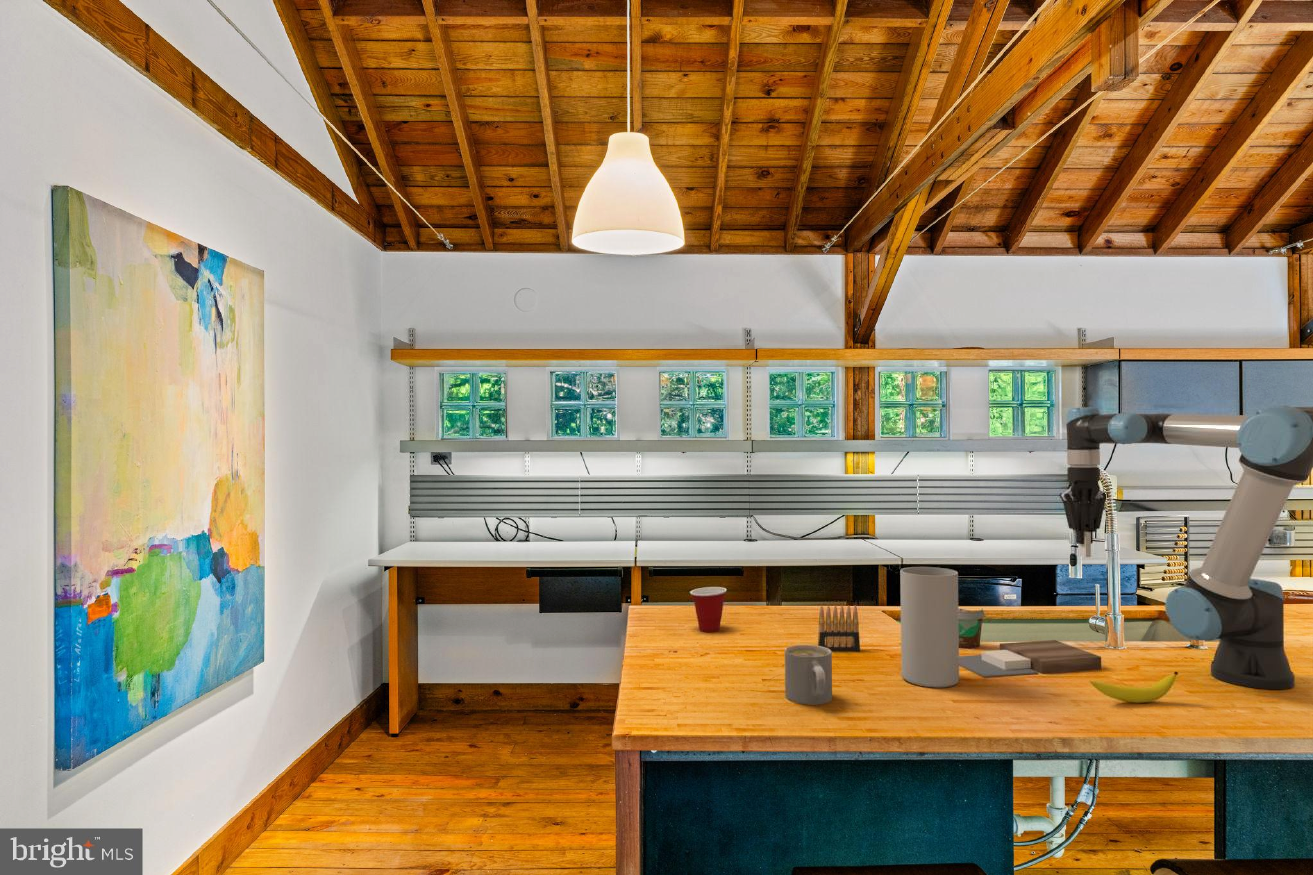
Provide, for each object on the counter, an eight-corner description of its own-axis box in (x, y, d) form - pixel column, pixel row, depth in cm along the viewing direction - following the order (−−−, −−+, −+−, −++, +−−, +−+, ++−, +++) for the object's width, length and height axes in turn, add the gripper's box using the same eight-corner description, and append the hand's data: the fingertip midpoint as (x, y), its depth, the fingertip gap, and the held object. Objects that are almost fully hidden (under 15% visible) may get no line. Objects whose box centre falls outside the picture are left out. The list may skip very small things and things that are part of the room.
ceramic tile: (1030, 667, 185) (1030, 659, 185) (1004, 669, 184) (1004, 661, 184) (1006, 657, 194) (1006, 649, 194) (981, 659, 192) (981, 651, 192)
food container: (933, 646, 206) (933, 609, 207) (937, 641, 212) (936, 604, 212) (983, 652, 201) (983, 613, 201) (985, 646, 206) (985, 608, 206)
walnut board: (1101, 669, 185) (1101, 656, 185) (1041, 673, 182) (1041, 660, 182) (1055, 651, 200) (1055, 640, 200) (999, 655, 197) (999, 643, 197)
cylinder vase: (922, 690, 170) (921, 577, 170) (890, 674, 182) (889, 568, 182) (971, 685, 173) (969, 574, 173) (936, 670, 185) (935, 565, 185)
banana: (1085, 701, 162) (1085, 671, 162) (1172, 699, 163) (1172, 669, 163) (1094, 706, 159) (1093, 675, 159) (1182, 704, 160) (1182, 673, 160)
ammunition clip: (858, 649, 204) (858, 604, 204) (860, 651, 202) (859, 605, 202) (817, 649, 204) (817, 604, 205) (819, 651, 203) (818, 605, 203)
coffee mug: (782, 689, 172) (782, 644, 172) (828, 689, 171) (827, 644, 171) (790, 710, 159) (789, 661, 159) (838, 710, 158) (838, 661, 158)
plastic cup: (689, 625, 232) (689, 585, 232) (725, 625, 232) (725, 585, 232) (690, 634, 221) (690, 592, 222) (728, 634, 221) (728, 592, 221)
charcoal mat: (1037, 673, 181) (1037, 672, 181) (983, 677, 179) (983, 675, 179) (996, 655, 197) (996, 653, 197) (945, 658, 195) (945, 657, 195)
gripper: (1094, 465, 207) (1095, 553, 207) (1051, 466, 205) (1052, 555, 205) (1116, 466, 200) (1117, 557, 200) (1071, 467, 197) (1072, 559, 197)
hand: (1084, 556), depth 202 cm, fingers closed
